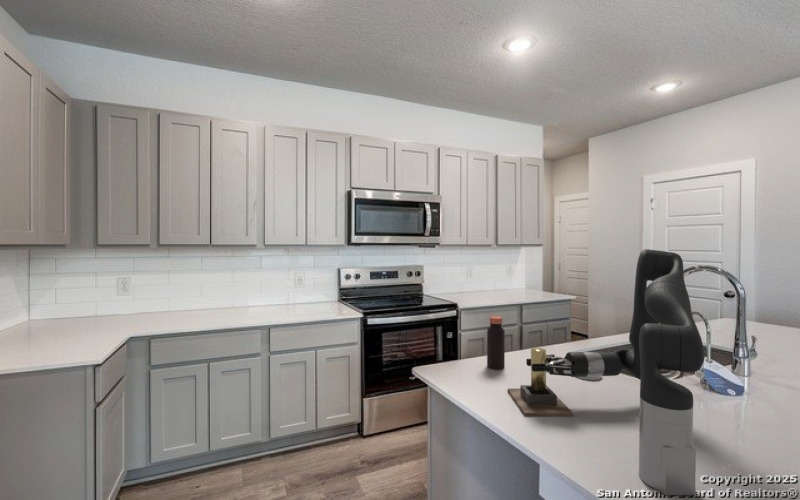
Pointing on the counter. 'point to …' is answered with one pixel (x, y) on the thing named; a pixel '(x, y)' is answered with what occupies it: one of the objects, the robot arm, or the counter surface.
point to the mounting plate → (539, 402)
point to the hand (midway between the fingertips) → (529, 364)
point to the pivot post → (538, 377)
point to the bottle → (495, 344)
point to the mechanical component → (591, 378)
